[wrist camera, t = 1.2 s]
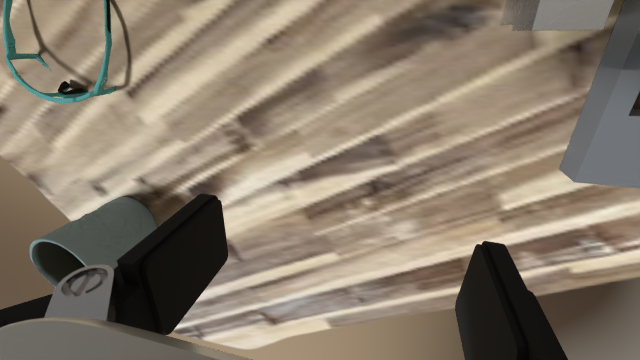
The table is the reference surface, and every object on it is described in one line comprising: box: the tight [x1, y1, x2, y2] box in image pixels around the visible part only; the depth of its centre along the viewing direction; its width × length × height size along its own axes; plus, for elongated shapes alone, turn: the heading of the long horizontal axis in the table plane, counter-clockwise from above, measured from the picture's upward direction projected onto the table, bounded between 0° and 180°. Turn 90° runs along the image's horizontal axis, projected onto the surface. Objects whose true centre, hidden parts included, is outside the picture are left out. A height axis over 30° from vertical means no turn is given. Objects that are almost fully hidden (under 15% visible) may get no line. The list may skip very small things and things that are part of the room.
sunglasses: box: [3, 0, 115, 103], centre depth 35 cm, size 14×15×5 cm
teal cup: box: [30, 197, 157, 287], centre depth 43 cm, size 10×10×12 cm
